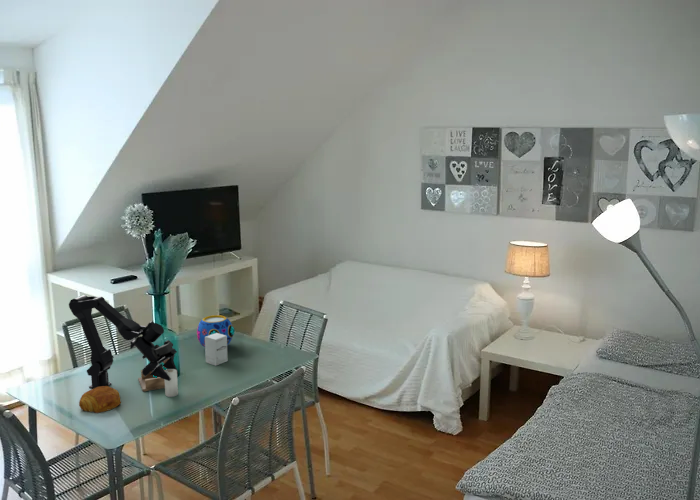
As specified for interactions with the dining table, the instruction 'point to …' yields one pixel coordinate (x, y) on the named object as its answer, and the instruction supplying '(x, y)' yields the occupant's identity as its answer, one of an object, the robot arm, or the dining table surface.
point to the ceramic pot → (214, 328)
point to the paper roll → (171, 383)
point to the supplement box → (216, 349)
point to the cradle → (151, 382)
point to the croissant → (100, 399)
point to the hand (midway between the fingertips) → (173, 377)
